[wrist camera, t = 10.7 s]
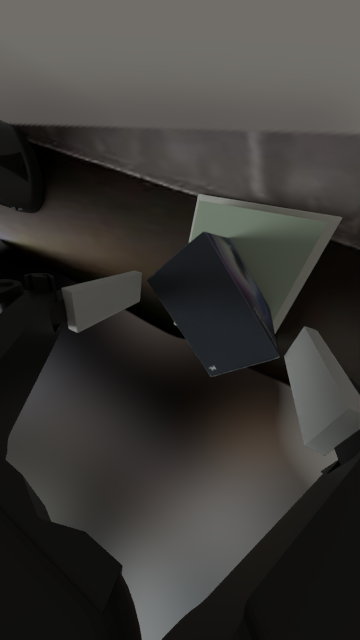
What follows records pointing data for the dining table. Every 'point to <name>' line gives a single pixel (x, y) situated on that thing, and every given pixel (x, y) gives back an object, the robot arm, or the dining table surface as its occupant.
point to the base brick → (263, 244)
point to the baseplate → (324, 237)
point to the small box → (217, 305)
